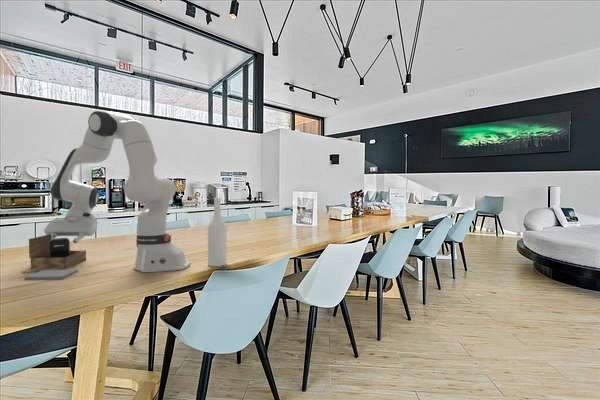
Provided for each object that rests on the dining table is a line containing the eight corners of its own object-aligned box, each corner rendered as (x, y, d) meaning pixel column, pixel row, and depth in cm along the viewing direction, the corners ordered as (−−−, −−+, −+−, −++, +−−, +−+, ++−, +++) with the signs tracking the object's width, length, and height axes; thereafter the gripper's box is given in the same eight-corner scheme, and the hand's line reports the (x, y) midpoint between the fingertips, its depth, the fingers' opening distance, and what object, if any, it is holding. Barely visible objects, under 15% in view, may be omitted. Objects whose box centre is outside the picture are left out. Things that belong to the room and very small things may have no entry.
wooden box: (86, 259, 145) (85, 233, 144) (57, 271, 125) (57, 240, 124) (54, 260, 143) (53, 233, 143) (20, 272, 123) (19, 241, 123)
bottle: (212, 267, 134) (212, 198, 133) (204, 264, 140) (204, 197, 139) (229, 264, 139) (229, 197, 138) (221, 261, 145) (221, 197, 144)
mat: (78, 271, 125) (77, 269, 125) (62, 278, 116) (62, 276, 116) (42, 272, 124) (42, 270, 124) (24, 279, 114) (24, 277, 114)
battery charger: (49, 266, 133) (48, 239, 133) (51, 264, 137) (50, 238, 136) (69, 264, 137) (68, 238, 136) (70, 262, 140) (70, 237, 140)
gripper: (49, 214, 145) (34, 238, 136) (96, 214, 147) (85, 238, 138) (56, 222, 150) (42, 246, 140) (101, 222, 152) (90, 246, 143)
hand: (63, 242), depth 139 cm, fingers open, 8 cm apart
